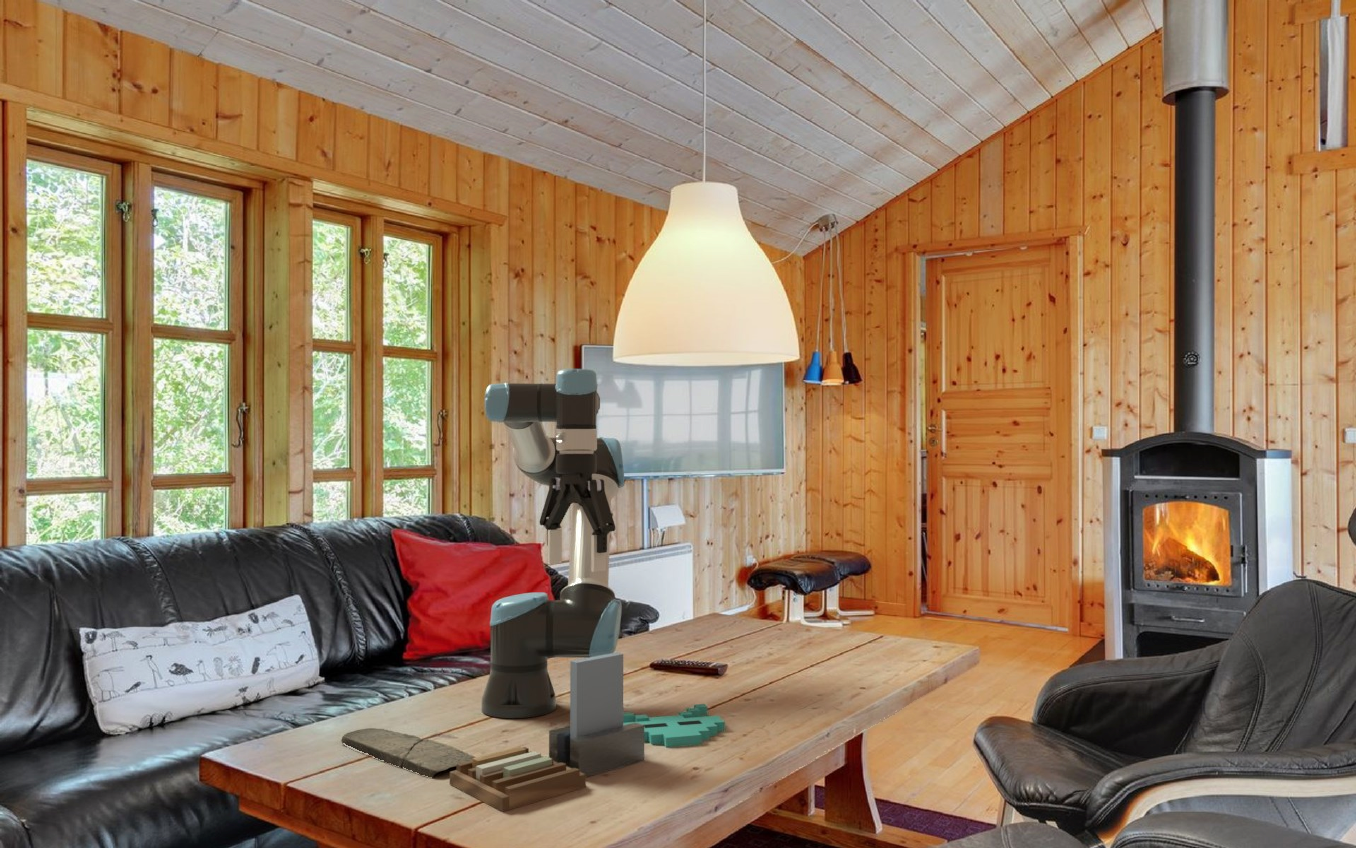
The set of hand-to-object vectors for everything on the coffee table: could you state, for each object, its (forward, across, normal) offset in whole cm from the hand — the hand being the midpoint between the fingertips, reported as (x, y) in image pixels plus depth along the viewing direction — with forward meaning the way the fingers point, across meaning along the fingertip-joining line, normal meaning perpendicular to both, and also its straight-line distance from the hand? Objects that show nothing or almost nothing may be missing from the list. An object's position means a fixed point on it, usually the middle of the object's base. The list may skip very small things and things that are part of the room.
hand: (576, 567), depth 179 cm
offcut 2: (+32, +11, -22) cm, 40 cm away
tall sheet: (+31, +13, -5) cm, 34 cm away
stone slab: (+32, -14, -27) cm, 44 cm away
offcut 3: (+32, +15, -20) cm, 41 cm away
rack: (+32, +13, -21) cm, 40 cm away
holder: (+32, +13, -5) cm, 35 cm away
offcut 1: (+32, +8, -21) cm, 39 cm away
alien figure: (+32, +7, +17) cm, 37 cm away
